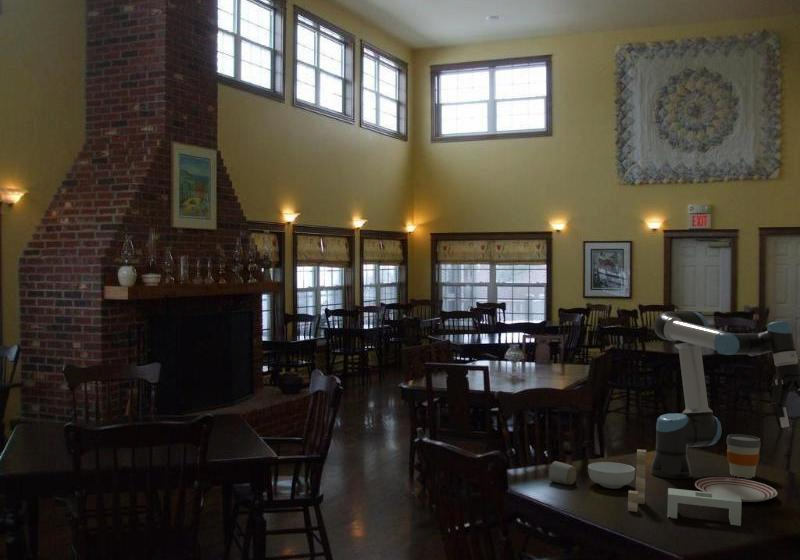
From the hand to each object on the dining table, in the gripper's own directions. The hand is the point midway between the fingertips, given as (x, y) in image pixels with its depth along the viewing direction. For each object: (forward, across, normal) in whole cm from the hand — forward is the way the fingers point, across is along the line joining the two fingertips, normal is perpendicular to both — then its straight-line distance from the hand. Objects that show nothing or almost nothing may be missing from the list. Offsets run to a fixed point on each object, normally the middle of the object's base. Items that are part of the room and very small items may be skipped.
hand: (799, 426), depth 279 cm
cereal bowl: (+15, -44, +50) cm, 68 cm away
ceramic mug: (+12, -59, +59) cm, 84 cm away
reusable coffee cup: (+15, +17, +45) cm, 51 cm away
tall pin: (+21, -49, +29) cm, 61 cm away
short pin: (+23, -57, +24) cm, 66 cm away
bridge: (+27, -41, +9) cm, 50 cm away
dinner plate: (+22, -9, +26) cm, 35 cm away
